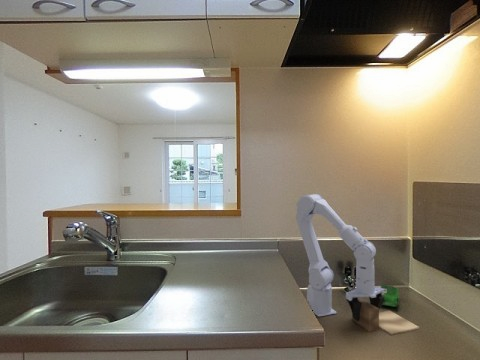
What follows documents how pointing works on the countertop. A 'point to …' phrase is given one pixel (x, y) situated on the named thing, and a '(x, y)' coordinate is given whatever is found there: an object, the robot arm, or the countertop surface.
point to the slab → (368, 316)
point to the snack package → (390, 295)
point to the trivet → (394, 323)
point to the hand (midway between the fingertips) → (365, 317)
